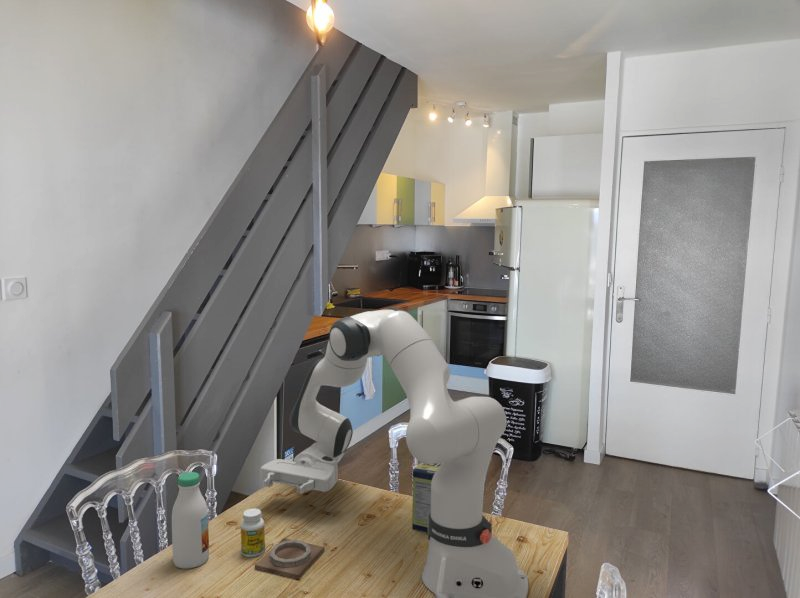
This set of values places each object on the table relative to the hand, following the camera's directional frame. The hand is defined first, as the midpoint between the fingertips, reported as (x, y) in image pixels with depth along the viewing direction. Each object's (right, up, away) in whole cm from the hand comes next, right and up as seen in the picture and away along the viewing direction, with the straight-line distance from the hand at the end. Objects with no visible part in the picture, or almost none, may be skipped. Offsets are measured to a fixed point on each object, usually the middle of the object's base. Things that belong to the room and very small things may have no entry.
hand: (282, 487), depth 144 cm
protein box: (+40, -11, +5) cm, 42 cm away
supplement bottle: (-5, -12, -10) cm, 16 cm away
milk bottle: (-18, -12, -14) cm, 26 cm away
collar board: (+5, -12, -14) cm, 19 cm away
